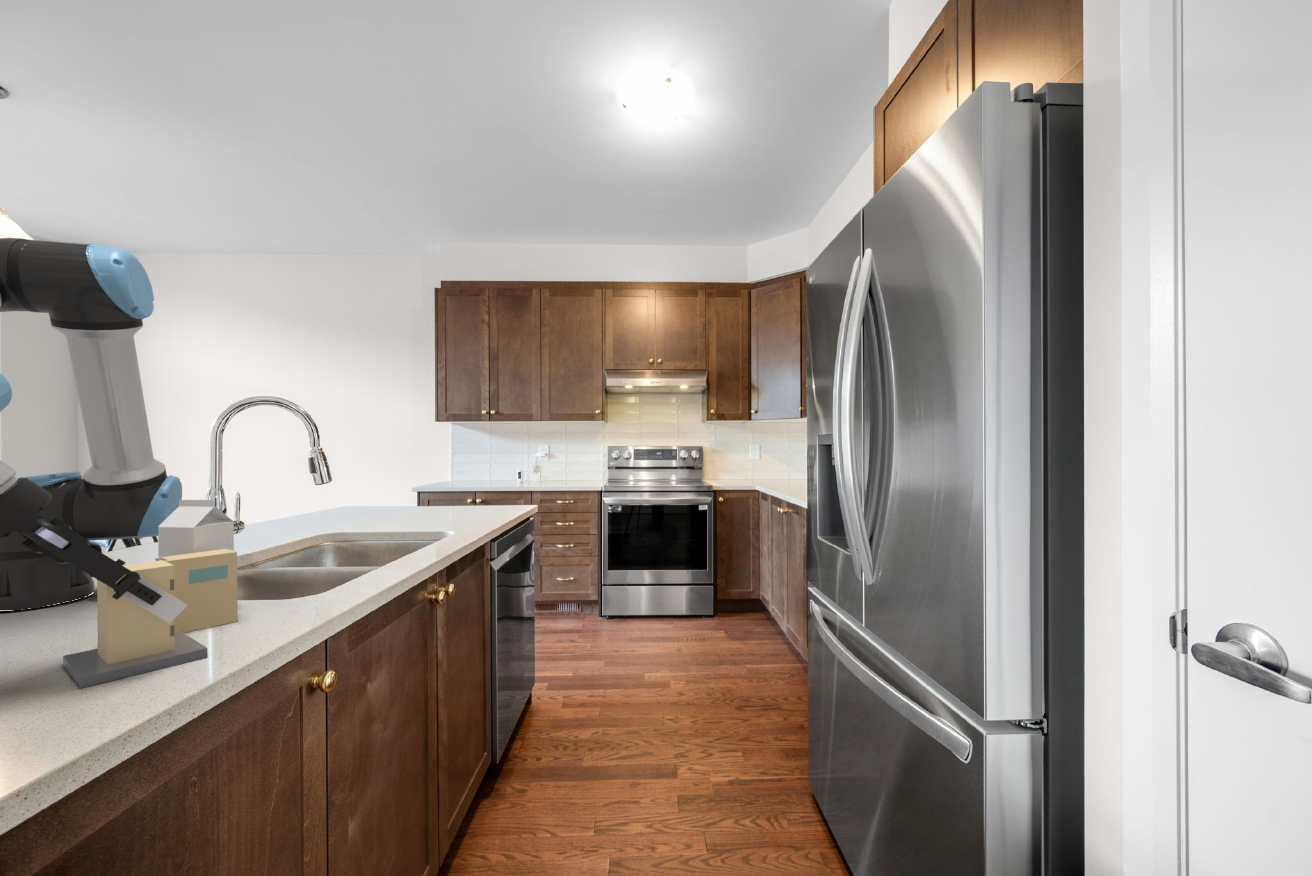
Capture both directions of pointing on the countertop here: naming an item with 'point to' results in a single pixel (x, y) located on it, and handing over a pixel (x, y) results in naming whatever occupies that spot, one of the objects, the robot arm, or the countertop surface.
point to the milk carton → (195, 529)
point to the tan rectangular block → (134, 618)
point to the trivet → (130, 662)
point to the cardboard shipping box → (205, 588)
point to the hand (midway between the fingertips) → (168, 608)
